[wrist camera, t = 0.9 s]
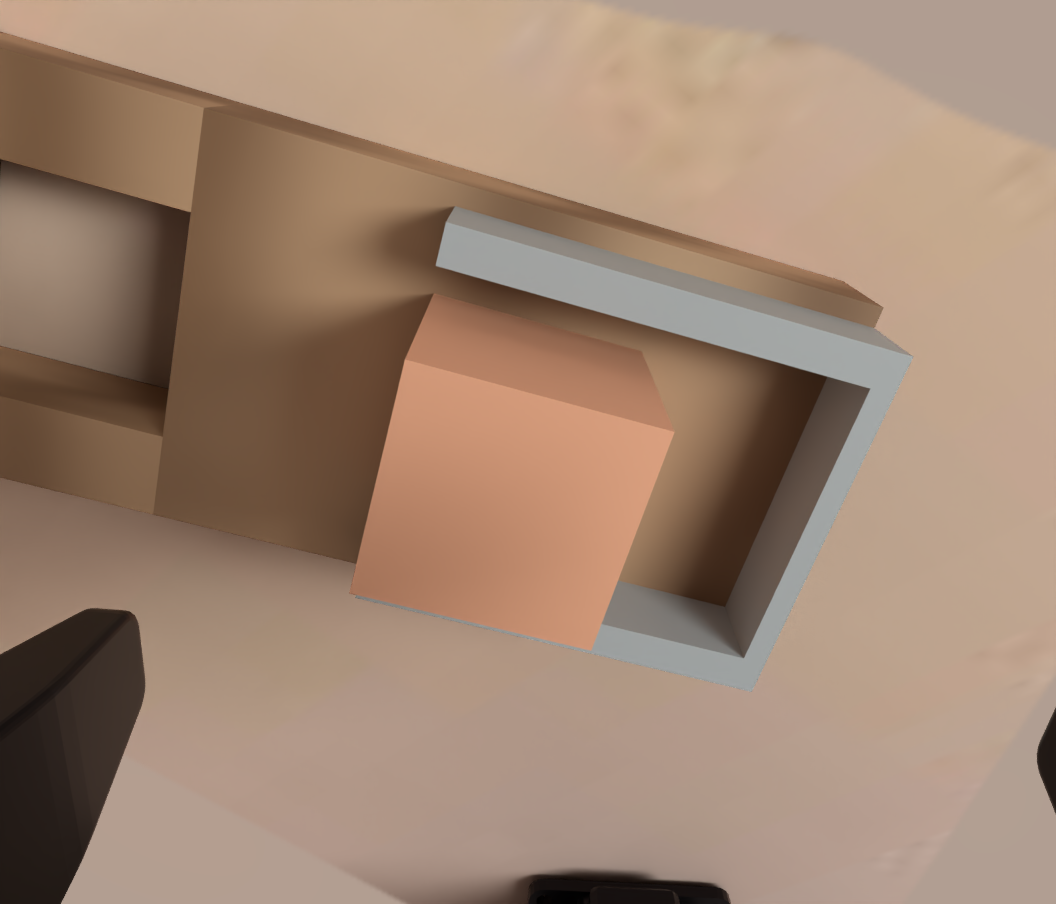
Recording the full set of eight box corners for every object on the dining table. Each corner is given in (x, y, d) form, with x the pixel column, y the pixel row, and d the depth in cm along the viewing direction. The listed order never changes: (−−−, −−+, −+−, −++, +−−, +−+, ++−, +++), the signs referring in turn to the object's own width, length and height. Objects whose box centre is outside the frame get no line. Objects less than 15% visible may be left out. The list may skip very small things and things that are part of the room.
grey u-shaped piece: (874, 328, 18) (913, 356, 16) (732, 637, 21) (751, 691, 19) (454, 206, 17) (446, 221, 15) (371, 550, 20) (354, 597, 18)
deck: (843, 281, 20) (883, 307, 18) (706, 596, 24) (725, 653, 21) (-19, 25, 18) (-100, 18, 16) (-31, 413, 21) (-97, 454, 19)
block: (641, 350, 18) (673, 432, 14) (578, 531, 20) (591, 650, 16) (433, 293, 18) (404, 359, 14) (387, 483, 19) (349, 593, 15)
